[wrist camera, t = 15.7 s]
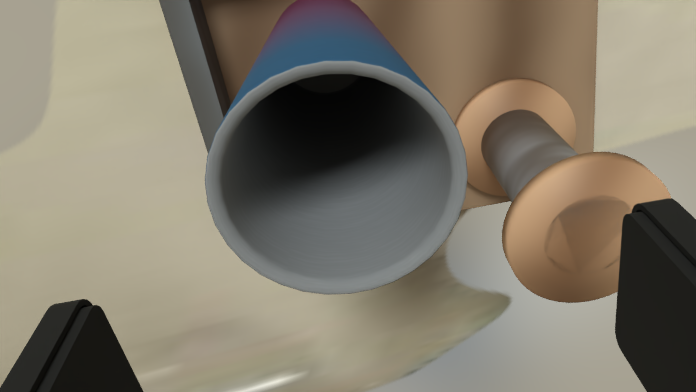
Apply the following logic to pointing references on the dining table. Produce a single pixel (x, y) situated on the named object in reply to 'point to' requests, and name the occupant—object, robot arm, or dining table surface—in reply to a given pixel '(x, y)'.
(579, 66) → the board
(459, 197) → the cup
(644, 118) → the dining table surface
